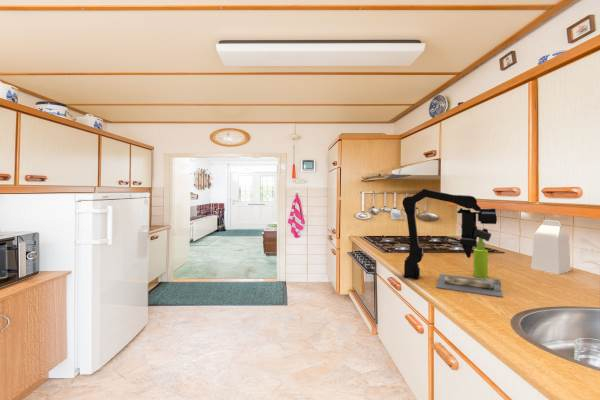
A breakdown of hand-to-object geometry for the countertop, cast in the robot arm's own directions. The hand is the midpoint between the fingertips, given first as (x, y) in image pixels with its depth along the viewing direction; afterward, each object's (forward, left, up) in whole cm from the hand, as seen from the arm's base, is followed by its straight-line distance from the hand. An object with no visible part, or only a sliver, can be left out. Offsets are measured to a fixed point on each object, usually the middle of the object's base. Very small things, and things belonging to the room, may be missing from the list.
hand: (468, 257), depth 131 cm
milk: (+38, +44, -12) cm, 59 cm away
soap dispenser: (+6, +14, -12) cm, 20 cm away
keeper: (+8, -5, -12) cm, 15 cm away
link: (-1, -5, -11) cm, 12 cm away
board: (0, -3, -12) cm, 12 cm away
